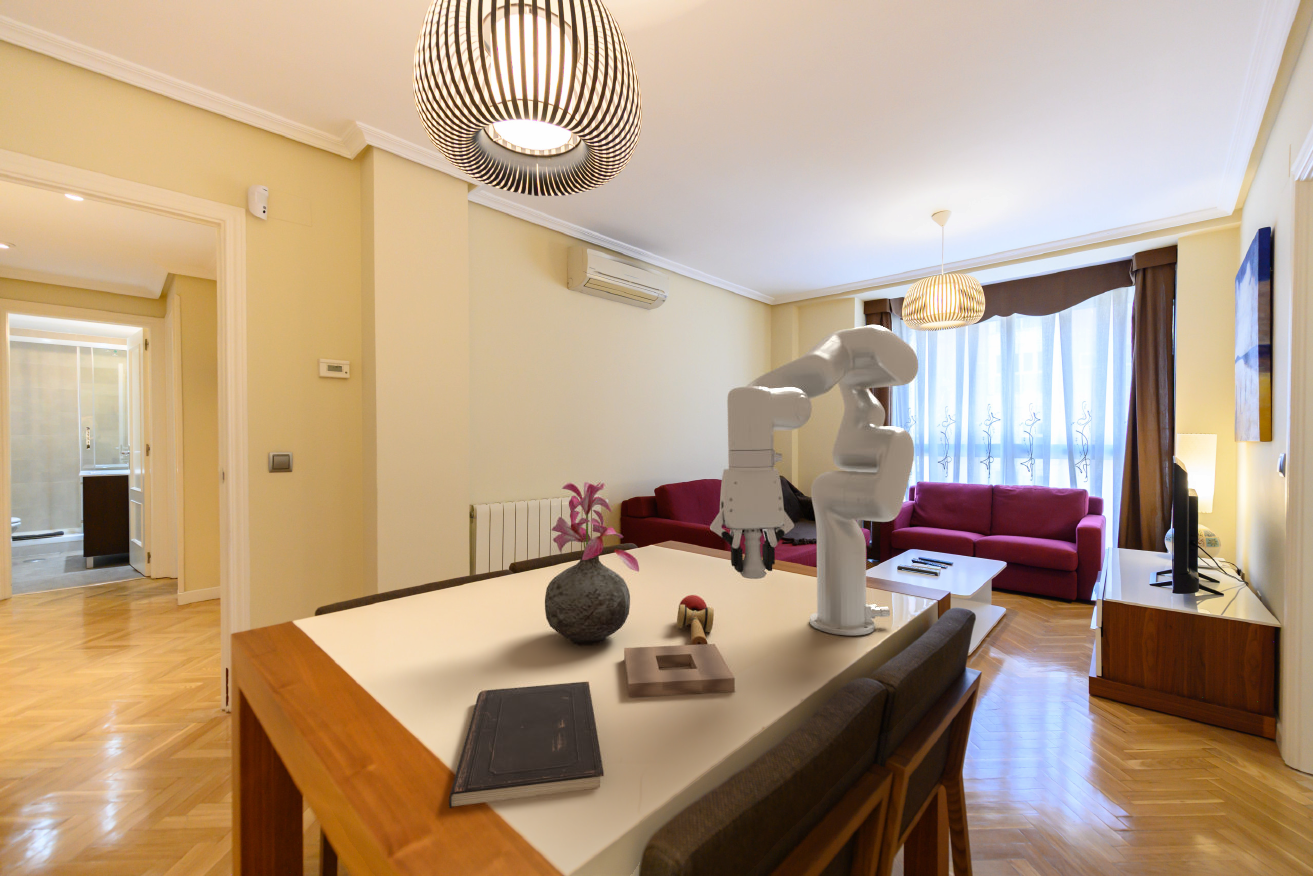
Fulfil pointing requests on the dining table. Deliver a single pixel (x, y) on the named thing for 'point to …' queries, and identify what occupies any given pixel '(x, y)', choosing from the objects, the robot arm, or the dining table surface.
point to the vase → (587, 578)
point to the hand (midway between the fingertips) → (752, 568)
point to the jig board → (702, 678)
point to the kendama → (695, 618)
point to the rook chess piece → (753, 555)
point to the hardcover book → (529, 744)
